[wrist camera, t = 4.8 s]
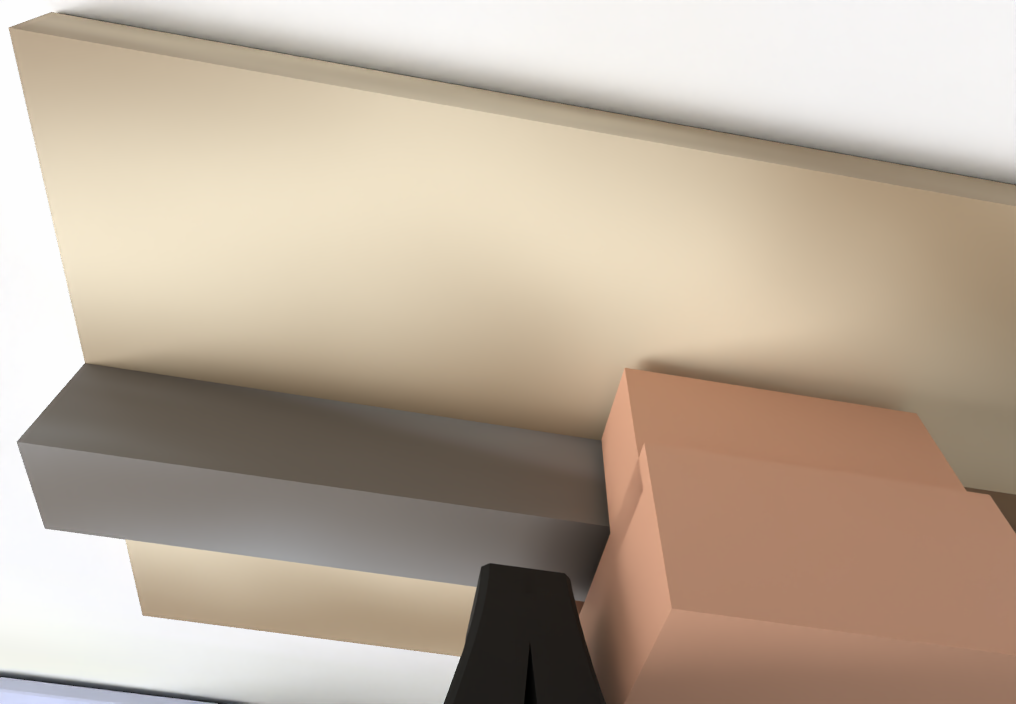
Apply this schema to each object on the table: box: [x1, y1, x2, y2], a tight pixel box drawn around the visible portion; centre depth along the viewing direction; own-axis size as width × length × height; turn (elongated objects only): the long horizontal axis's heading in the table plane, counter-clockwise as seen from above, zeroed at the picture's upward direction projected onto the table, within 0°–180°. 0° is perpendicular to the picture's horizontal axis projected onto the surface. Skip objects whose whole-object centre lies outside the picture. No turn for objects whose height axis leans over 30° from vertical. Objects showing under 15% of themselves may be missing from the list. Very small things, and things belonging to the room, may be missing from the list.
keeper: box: [575, 368, 1016, 704], centre depth 12 cm, size 6×5×5 cm
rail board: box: [9, 12, 1016, 657], centre depth 13 cm, size 13×18×4 cm
